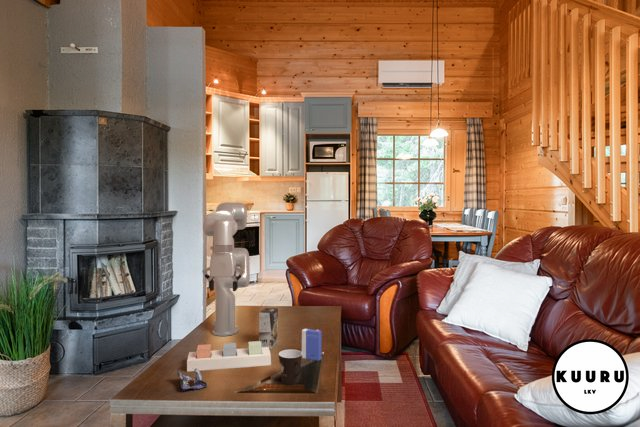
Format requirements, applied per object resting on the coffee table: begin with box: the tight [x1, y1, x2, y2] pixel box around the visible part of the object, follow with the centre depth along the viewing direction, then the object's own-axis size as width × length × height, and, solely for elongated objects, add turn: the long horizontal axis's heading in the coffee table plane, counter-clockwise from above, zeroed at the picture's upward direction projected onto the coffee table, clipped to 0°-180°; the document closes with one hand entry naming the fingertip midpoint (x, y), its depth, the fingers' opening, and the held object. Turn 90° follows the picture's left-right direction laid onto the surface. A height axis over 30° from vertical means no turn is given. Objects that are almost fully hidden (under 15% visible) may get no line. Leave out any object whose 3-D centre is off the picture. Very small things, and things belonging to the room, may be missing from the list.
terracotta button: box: [196, 343, 212, 359], centre depth 171 cm, size 5×5×5 cm
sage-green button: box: [247, 340, 262, 355], centre depth 175 cm, size 5×5×5 cm
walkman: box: [301, 328, 322, 361], centre depth 179 cm, size 8×3×12 cm, turn 66°
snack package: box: [176, 368, 208, 392], centre depth 153 cm, size 12×6×12 cm
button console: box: [186, 347, 272, 372], centre depth 173 cm, size 32×10×4 cm, turn 102°
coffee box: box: [258, 307, 279, 350], centre depth 194 cm, size 9×6×16 cm
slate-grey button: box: [222, 342, 237, 357], centre depth 173 cm, size 5×5×5 cm
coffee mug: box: [278, 348, 303, 385], centre depth 155 cm, size 12×9×10 cm
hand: (223, 290), depth 178 cm, fingers open, 9 cm apart
